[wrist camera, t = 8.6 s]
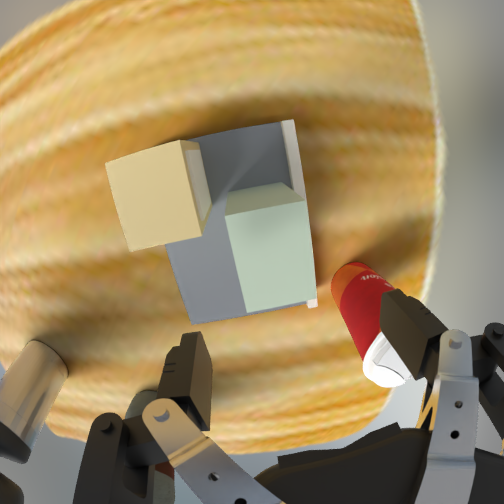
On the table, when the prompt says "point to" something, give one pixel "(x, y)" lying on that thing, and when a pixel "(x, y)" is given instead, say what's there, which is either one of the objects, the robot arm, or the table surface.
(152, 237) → the mustard box
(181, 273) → the display board
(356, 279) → the paper cup
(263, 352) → the table surface
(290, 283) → the tea box
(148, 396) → the bottle
